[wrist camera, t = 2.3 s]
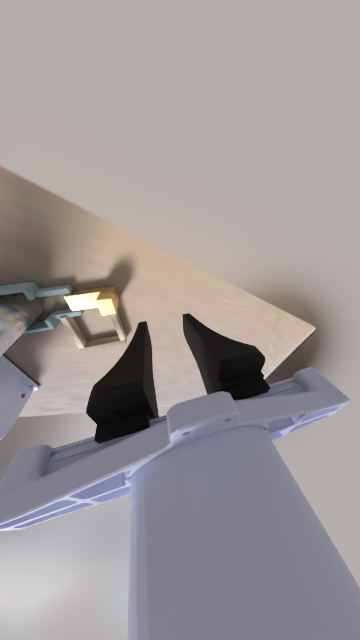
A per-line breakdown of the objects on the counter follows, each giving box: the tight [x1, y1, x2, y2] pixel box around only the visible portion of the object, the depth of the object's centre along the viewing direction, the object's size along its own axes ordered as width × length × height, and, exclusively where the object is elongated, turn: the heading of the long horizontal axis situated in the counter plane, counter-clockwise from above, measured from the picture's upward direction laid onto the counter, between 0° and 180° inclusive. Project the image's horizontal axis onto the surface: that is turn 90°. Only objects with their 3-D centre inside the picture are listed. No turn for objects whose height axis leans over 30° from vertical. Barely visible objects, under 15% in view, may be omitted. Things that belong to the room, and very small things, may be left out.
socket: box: [0, 281, 84, 335], centre depth 17 cm, size 6×10×4 cm, turn 93°
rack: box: [59, 311, 127, 352], centre depth 22 cm, size 6×7×2 cm
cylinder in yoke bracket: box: [0, 293, 42, 357], centre depth 15 cm, size 4×4×8 cm
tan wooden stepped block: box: [64, 286, 119, 316], centre depth 18 cm, size 2×6×4 cm, turn 93°
